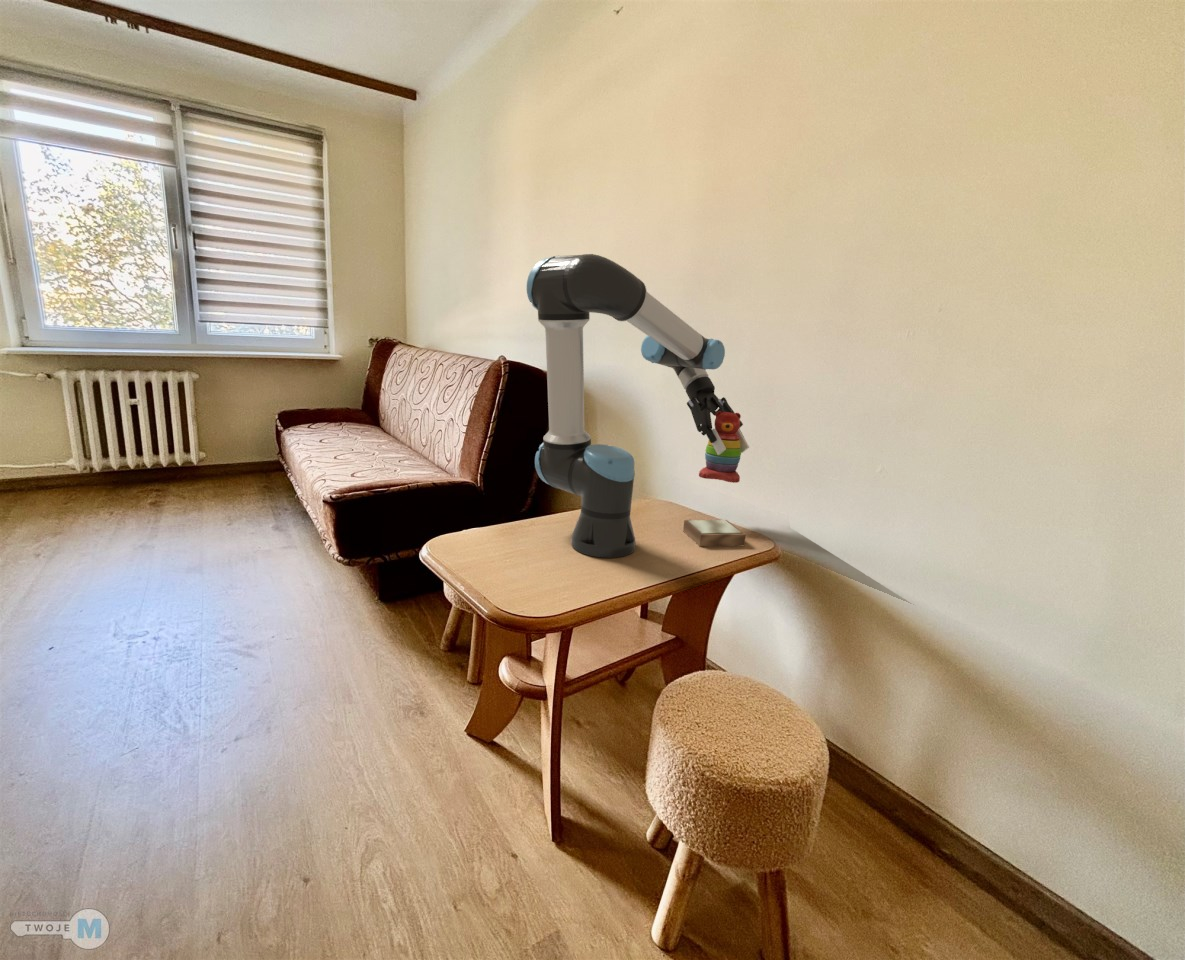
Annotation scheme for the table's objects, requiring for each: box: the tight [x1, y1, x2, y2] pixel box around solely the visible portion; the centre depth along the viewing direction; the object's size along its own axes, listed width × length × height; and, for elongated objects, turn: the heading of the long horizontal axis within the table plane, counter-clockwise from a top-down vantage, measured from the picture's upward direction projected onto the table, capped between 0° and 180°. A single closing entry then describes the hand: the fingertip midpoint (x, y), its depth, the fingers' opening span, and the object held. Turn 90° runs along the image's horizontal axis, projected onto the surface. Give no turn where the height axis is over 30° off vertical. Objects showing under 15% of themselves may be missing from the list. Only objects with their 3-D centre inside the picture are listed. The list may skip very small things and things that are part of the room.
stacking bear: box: [698, 411, 742, 484], centre depth 147 cm, size 11×10×18 cm
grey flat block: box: [682, 519, 746, 548], centre depth 140 cm, size 12×11×3 cm
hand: (733, 450), depth 145 cm, fingers closed on stacking bear, 9 cm apart
